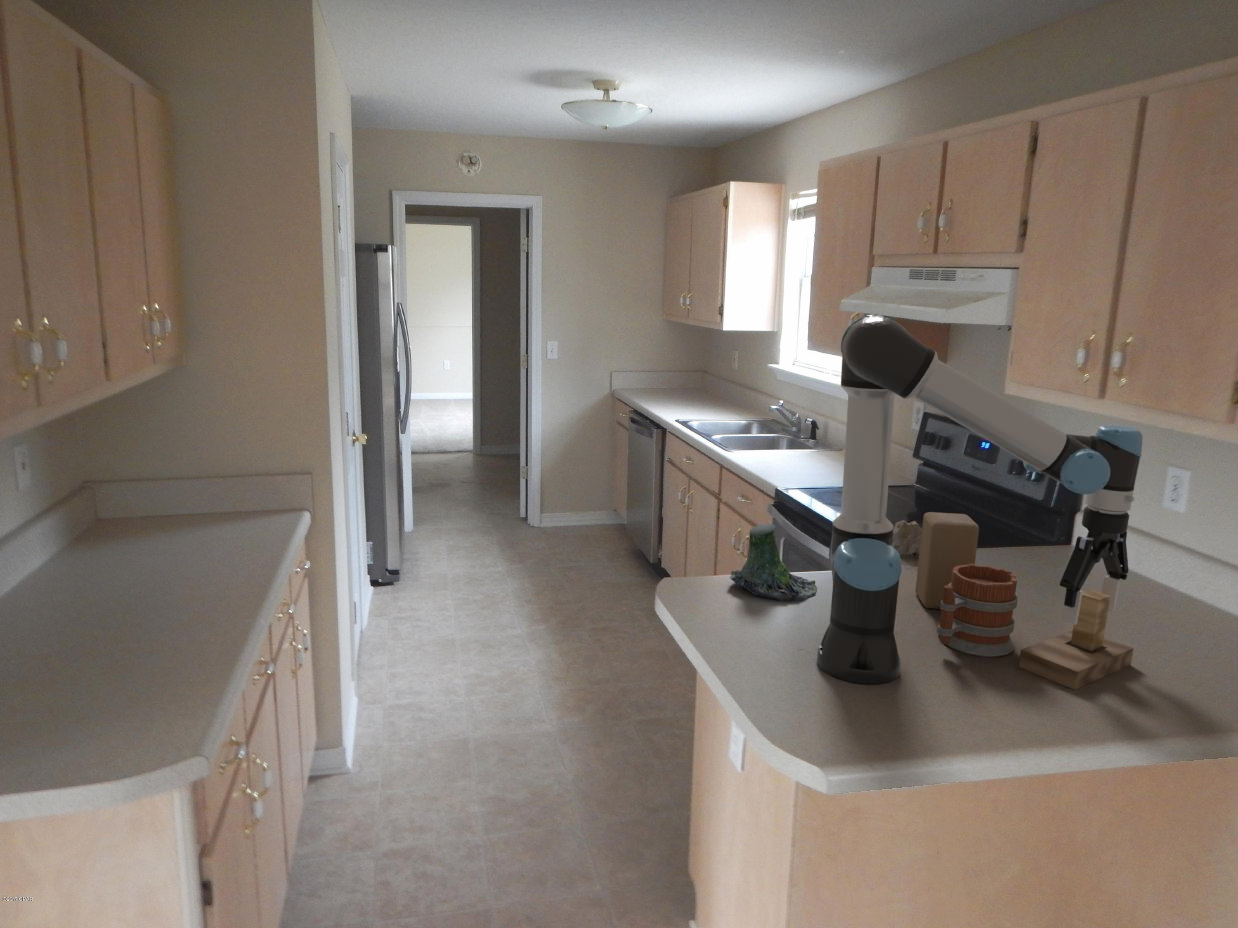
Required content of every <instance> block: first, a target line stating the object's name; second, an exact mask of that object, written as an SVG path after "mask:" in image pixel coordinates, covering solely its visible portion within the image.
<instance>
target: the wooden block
mask: <svg viewBox="0 0 1238 928" xmlns="http://www.w3.org/2000/svg"><path fill="white" fill-rule="evenodd" d="M922 517H923V518H922V527H921V529H922V534H921V543H920V553H919V557H918V564H917V573H916V582H915V590H914V592H915V594H916V596H917V597H918V599H919V600H920V601H921V604H922V606H924V607H925V608H927V609H936V610H938V609H939V610H941V608H940V604H941V601H942V600H943V596H944V594H943V593H944V586H945V585H949V584H950V583H951V581H952V572H953V568H954V567H956V566H961V565H968V564H974V565H976V556H977V549H978V548H977V547H978V541H979V532H980V527H979V524H977V523H976V522H975V521H974V520H973V519H972V518H971V517H970V516H969V515H968V514H965V513H954V512H953V513H952V512H951V513H950V512H948V513H947V512H933V511H930V512H929V511H928V512H925V513H924V514H923V516H922Z"/></svg>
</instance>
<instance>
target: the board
mask: <svg viewBox="0 0 1238 928" xmlns="http://www.w3.org/2000/svg"><path fill="white" fill-rule="evenodd" d="M1072 633H1073V630H1070V631H1067V632H1065V633H1063V634H1060V635H1057V636H1055V637H1054V636H1053V637H1052V638H1048V639H1046V640H1044V641H1043V640H1042V641H1041V642H1037V643H1034V644H1031V645H1030V646H1027V647H1023V648H1022V649H1020V653H1019V660H1018V667H1019V668H1021V669H1024V670H1026V671H1029V672H1031V673H1034V674H1036V675H1038V676H1041V677H1043V678H1045V679H1048V680H1050V681H1053V682H1055V683H1058V684H1059V685H1063V686H1065V687H1068V688H1071V689H1073V690H1077V689H1079V688H1081V687H1083V686H1087V685H1089V684H1092V683H1093V682H1095V681H1098V680H1101V679H1102V678H1105V677H1107V676H1109V675H1112V674H1113V673H1116V672H1118V671H1120V670H1123V669H1125V668H1128V667H1130V666H1131V664H1132V660H1133V654H1134V647H1131V646H1129V645H1125V644H1124V643H1119V642H1117V641H1114V640H1111V639H1108V638H1106V637H1104V639H1103V645H1102V646H1103V648H1102V650H1101V651H1099V652H1096V653H1094V654H1091V653H1089V652H1086V651H1083V650H1080V649H1078V648H1075V647H1072V646H1070V643H1071V639H1072Z"/></svg>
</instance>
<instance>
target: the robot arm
mask: <svg viewBox="0 0 1238 928" xmlns="http://www.w3.org/2000/svg"><path fill="white" fill-rule="evenodd" d="M840 351H841V355H842V357H841V358H842V359H841V376H840V387H841V388H842V389H843V390H844V392H845V393H846V394H847V411H846V412H847V413H846V428H845V446H844V460H843V463H844V464H843V477H842V478H843V480H842V497H841V508H840V509H841V510H840V511H841V512H840V514H839V515H838V516H837V517H835V519H834V520H833V521H832V529H831V530H832V531H831V532H832V533H831V542H830V545H829V548H828V549H829V550H828V558H829V565H830V568H831V575H832V576H831V577H832V593H831V602H830V603H831V606H830V617H829V624H828V626H827V628H826V631H825V633H824V635H823V637H822V639H821V643H819V646H818V649H817V655H816V663H817V665H818V667H819V668H820V669H821V670H822V671H824V672H825V673H826V674H827V675H829V676H833V677H835V678H837V679H840V680H843V681H847V682H851V683H857V684H867V685H873V684H875V685H878V684H884V683H889V682H891V681H894V680H896V679H897V678H898V677H899V676H900V673H901V671H900V670H901V657H900V654H899V652H898V646H897V642H896V641H897V640H896V638H895V623H896V622H895V621H896V614H897V604H898V594H899V587H900V586H899V584H900V577H901V574H902V564H901V563H902V562H901V561H902V560H901V558H902V557H900V555H899V553H898V551H897V550H896V549H895V548H894V547H892V544H893V542H892V541H893V529H894V525H893V523H892V522H891V521H890V520H889V519H888V518H887V508H888V496H889V495H888V493H889V482H890V481H889V479H890V478H889V477H890V465H891V454H892V453H891V451H892V440H893V439H892V437H893V425H894V423H893V422H894V411H895V410H894V409H895V398H896V396H899V397H901V398H903V399H904V400H908V399H911V398H914V399H916V400H918V401H919V402H921V403H923V404H924V405H927V406H928V407H930V408H932V409H933V410H935V411H937V412H938V413H940V414H942V415H944V417H947V418H948V419H951V420H952V421H954V422H956V423H958V424H959V425H960V426H962V427H964V428H966V429H968V430H969V431H971V432H973V433H974V434H977V435H978V436H980V437H982V438H983V439H984V440H986V441H989V442H990V443H992V444H994V445H995V446H997V447H999V448H1000V449H1002V450H1004V451H1005V452H1007V453H1009V454H1010V455H1012V456H1014V457H1016V458H1018V459H1019V460H1020V461H1022V463H1023V468H1025V470H1026V471H1028V472H1033V473H1034V472H1035V473H1039V474H1044V475H1046V476H1048V477H1049V478H1051V479H1053V480H1055V481H1056V482H1058V483H1060V484H1062V485H1063V487H1065V489H1067V490H1069V491H1071V492H1073V493H1076V494H1079V495H1085V501H1084V503H1085V505H1086V506H1085V507H1084V508H1083V515H1082V519H1081V525H1082V527H1083V528H1086V529H1087V531H1088V532H1087V534H1086V536H1085V537H1083V536H1081V535H1080V536H1077V538H1076V541H1075V544H1074V548H1073V551H1072V553H1071V555H1070V557H1069V560H1068V562H1067V565H1066V567H1065V569H1064V572H1063V574H1062V577H1061V579H1060V582H1059V586H1060V587H1062V588H1065V594H1064V595H1065V596H1064V600H1063V607H1062V610H1061V612H1062V613H1061V616H1060V617H1061V618H1060V620H1061V621H1063V622H1066V623H1068V624H1071V625H1073V626H1074V625H1076V624H1077V622H1078V616H1079V610H1080V604H1081V599H1082V593H1083V592H1084V591H1083V590H1081V589H1082V588H1083V586H1084V584H1085V582H1086V581H1087V579H1088V577H1089V576H1090V574H1091V572H1092V569H1093V568H1094V567H1095V565H1096V564H1097V563H1099V562H1100V561H1101V560H1103V564H1104V567H1105V570H1106V573H1107V575H1103V577H1104V578H1103V582H1102V588H1101V592H1100V593H1102V594H1105V595H1109V596H1110V602H1109V608H1108V612H1111V613H1113V612H1116V611H1115V610H1116V607H1117V601H1118V596H1119V595H1118V594H1119V590H1120V583H1121V580H1123V581H1126V580H1127V578H1128V573H1129V562H1128V561H1129V560H1128V559H1129V558H1128V549H1127V548H1128V547H1127V537H1128V531H1127V530H1128V526H1129V522H1130V521H1129V520H1130V514H1129V513H1128V512H1129V511H1131V509H1132V503H1133V502H1134V501H1135V497H1134V491H1135V485H1136V479H1137V474H1138V470H1139V466H1140V460H1141V457H1142V449H1143V438H1144V436H1143V434H1142V431H1140V430H1138V429H1137V428H1132V427H1128V426H1121V425H1114V424H1113V425H1112V424H1111V425H1100V426H1099V427H1098V429H1097V432H1096V433H1095V435H1078V434H1067V433H1065V432H1063V431H1061V430H1059V429H1058V428H1056V427H1054V426H1052V425H1051V424H1049V423H1047V422H1045V421H1044V420H1043V419H1040V418H1039V417H1037V416H1036V415H1034V414H1032V413H1030V412H1028V411H1027V410H1025V409H1023V408H1022V407H1020V406H1018V405H1016V404H1015V403H1013V402H1011V401H1009V400H1008V399H1006V398H1005V397H1003V396H1001V395H999V394H997V393H996V392H994V391H992V390H991V389H989V388H987V387H986V386H984V385H982V384H981V383H979V382H977V381H975V380H973V378H970V377H969V376H967V375H965V374H963V373H962V372H960V371H958V370H957V369H954V368H953V367H951V366H950V365H947V364H946V363H944V362H943V361H941V360H939V357H938V353H937V351H936V350H934V349H932V348H931V347H929V346H927V345H926V344H924V343H923V342H921V341H920V340H919V339H918V338H916V337H915V336H914V335H912V334H911V333H910V332H909V331H908V330H907V329H906V328H905V327H904V326H902V325H901V323H899V322H897V320H894V319H893V318H891V317H889V316H886V315H881V314H867V315H864V316H861V317H859V318H857V319H855V320H854V321H853V322H852V323H851V324H850V325H849V326H848V327H847V328H846V329H845V331H844V333H843V335H842V338H841V341H840Z"/></svg>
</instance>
